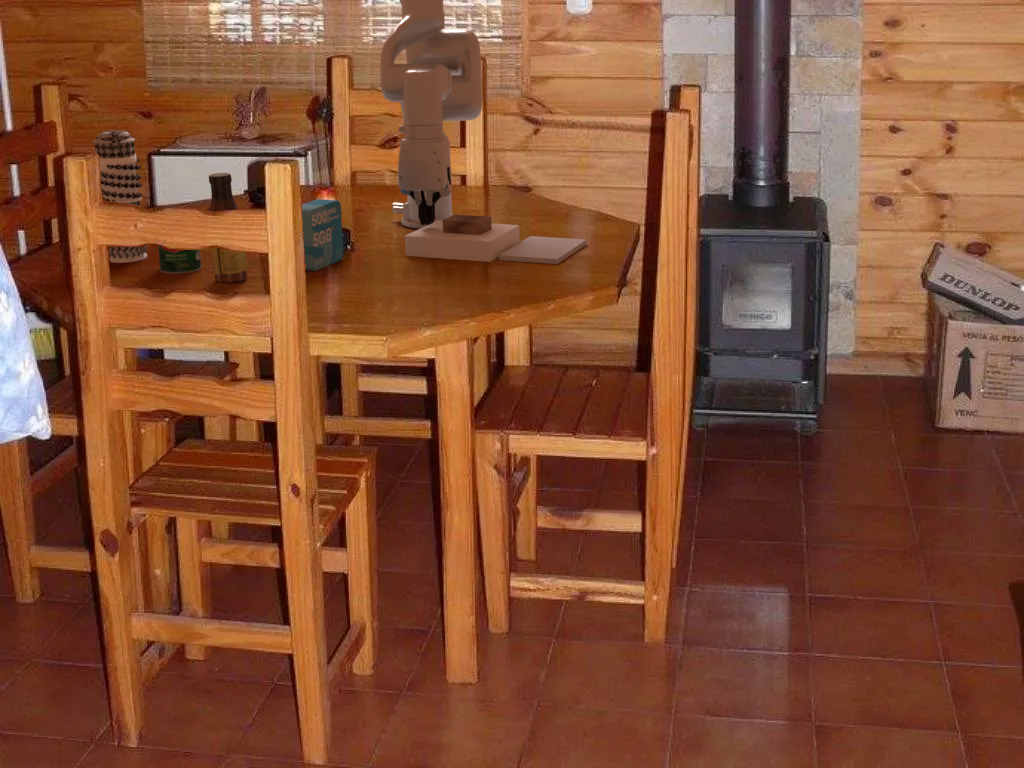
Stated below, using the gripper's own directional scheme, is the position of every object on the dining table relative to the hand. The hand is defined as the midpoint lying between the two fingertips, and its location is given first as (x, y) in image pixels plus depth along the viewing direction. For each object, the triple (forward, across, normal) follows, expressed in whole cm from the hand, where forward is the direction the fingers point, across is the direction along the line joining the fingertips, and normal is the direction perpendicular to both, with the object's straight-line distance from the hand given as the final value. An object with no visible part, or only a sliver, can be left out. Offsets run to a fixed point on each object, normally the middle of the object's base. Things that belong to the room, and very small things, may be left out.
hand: (427, 223), depth 299 cm
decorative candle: (+5, -54, -26) cm, 60 cm away
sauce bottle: (+5, -24, -36) cm, 44 cm away
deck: (+5, +8, 0) cm, 9 cm away
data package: (+5, -14, -20) cm, 25 cm away
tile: (+1, +9, 0) cm, 9 cm away
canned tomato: (+5, -38, -31) cm, 50 cm away
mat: (+5, +24, +3) cm, 24 cm away
